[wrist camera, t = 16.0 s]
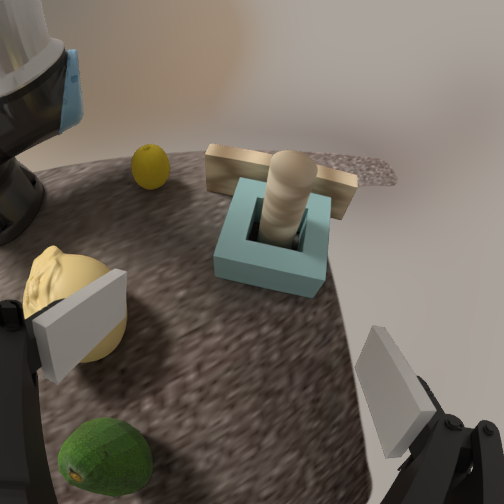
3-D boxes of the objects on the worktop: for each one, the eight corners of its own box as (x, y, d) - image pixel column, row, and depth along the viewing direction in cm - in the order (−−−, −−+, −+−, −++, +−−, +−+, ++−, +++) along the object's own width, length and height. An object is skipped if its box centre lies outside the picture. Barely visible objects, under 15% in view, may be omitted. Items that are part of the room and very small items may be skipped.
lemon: (155, 206, 39) (144, 164, 32) (131, 191, 40) (118, 151, 34) (180, 182, 42) (174, 141, 35) (155, 169, 43) (146, 130, 36)
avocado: (84, 449, 22) (21, 457, 11) (119, 403, 25) (64, 396, 15) (139, 495, 20) (96, 531, 10) (177, 450, 24) (147, 473, 13)
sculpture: (58, 282, 32) (16, 238, 23) (137, 276, 33) (108, 225, 24) (51, 366, 26) (-5, 342, 17) (137, 369, 28) (97, 349, 18)
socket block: (214, 276, 34) (213, 255, 30) (238, 202, 40) (240, 177, 36) (312, 298, 34) (325, 280, 29) (321, 220, 40) (331, 197, 36)
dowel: (252, 257, 36) (266, 175, 24) (259, 229, 38) (274, 146, 26) (287, 265, 36) (316, 187, 24) (292, 236, 38) (318, 156, 26)
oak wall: (206, 190, 41) (204, 154, 35) (211, 179, 42) (210, 143, 36) (341, 220, 40) (357, 187, 34) (341, 208, 42) (356, 175, 36)
